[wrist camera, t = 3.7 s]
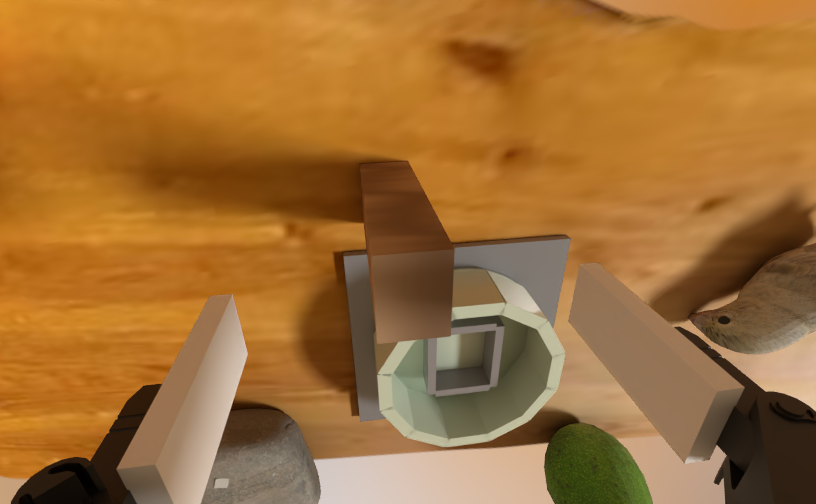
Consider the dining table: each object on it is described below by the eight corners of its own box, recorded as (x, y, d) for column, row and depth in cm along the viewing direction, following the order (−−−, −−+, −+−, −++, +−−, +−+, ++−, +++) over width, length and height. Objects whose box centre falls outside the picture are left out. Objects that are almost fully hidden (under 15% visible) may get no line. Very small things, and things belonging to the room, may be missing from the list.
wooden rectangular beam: (363, 223, 27) (377, 344, 16) (359, 163, 25) (371, 255, 14) (408, 220, 27) (450, 336, 16) (408, 160, 25) (454, 249, 15)
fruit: (581, 391, 37) (673, 528, 27) (618, 428, 41) (713, 562, 30) (513, 436, 39) (575, 583, 29) (554, 468, 43) (623, 609, 32)
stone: (223, 488, 37) (177, 576, 27) (219, 390, 37) (172, 441, 27) (324, 477, 38) (315, 555, 28) (320, 382, 38) (311, 428, 28)
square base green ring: (359, 416, 35) (362, 472, 30) (343, 252, 27) (343, 295, 23) (536, 393, 37) (563, 444, 32) (566, 235, 29) (607, 271, 25)
